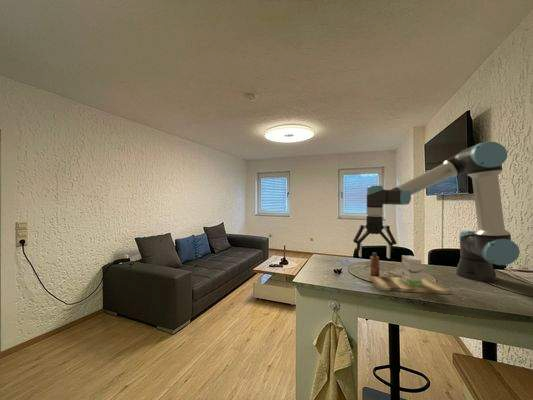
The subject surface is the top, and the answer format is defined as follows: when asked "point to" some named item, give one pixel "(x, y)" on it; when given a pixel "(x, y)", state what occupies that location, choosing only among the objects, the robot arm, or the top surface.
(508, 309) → the top surface
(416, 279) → the ink box
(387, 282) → the panel
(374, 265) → the brown bottle
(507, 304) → the top surface
